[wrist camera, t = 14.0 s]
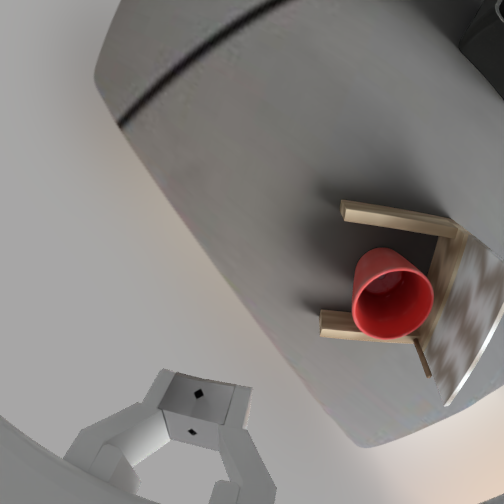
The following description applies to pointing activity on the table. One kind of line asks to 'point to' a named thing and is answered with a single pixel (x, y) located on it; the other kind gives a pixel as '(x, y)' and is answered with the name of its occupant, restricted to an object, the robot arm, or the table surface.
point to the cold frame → (439, 296)
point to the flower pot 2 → (487, 42)
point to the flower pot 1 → (389, 295)
